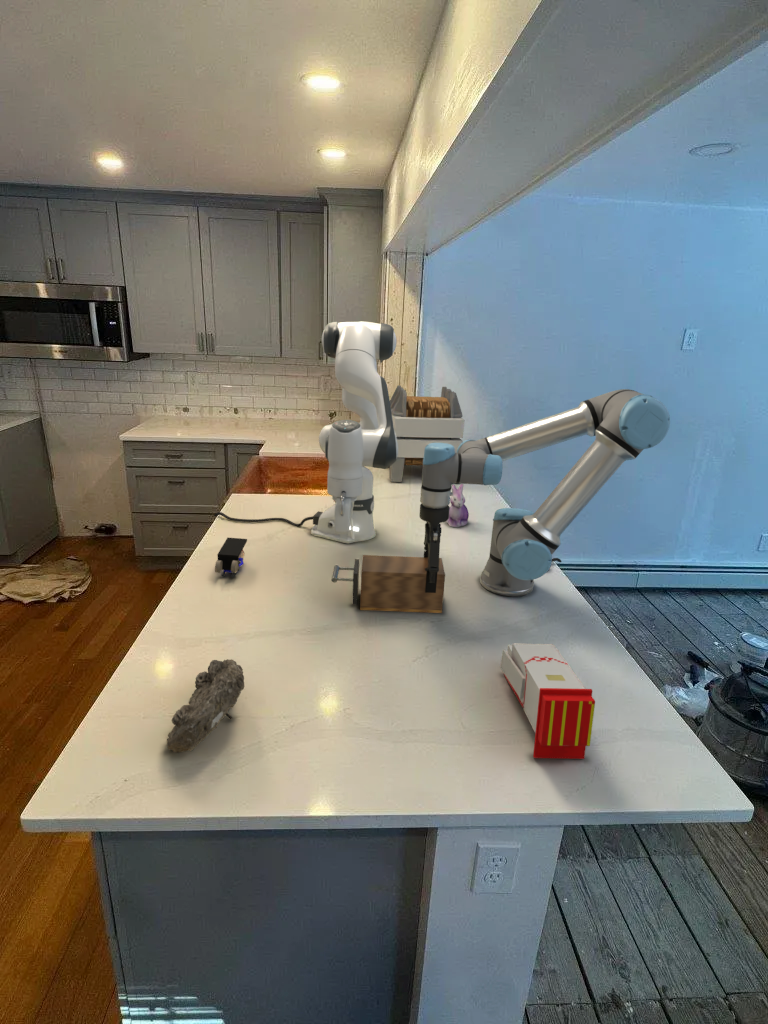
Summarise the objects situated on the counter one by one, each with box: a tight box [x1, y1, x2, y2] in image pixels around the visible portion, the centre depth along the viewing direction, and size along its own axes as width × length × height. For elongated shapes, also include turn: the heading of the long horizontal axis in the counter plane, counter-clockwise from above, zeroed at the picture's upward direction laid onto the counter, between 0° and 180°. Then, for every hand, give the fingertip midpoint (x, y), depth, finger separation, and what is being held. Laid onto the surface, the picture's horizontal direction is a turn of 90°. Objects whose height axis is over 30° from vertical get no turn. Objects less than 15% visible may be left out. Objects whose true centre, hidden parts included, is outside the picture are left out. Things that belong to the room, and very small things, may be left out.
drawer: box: [330, 558, 360, 606], centre depth 152 cm, size 26×9×9 cm, turn 90°
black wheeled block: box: [214, 537, 248, 578], centre depth 166 cm, size 7×8×15 cm
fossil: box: [166, 658, 245, 754], centre depth 106 cm, size 22×10×15 cm
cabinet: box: [359, 554, 446, 614], centre depth 152 cm, size 22×10×11 cm, turn 90°
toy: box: [499, 642, 596, 760], centre depth 113 cm, size 12×13×30 cm
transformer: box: [388, 384, 465, 483], centre depth 268 cm, size 34×33×41 cm
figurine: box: [446, 483, 470, 528], centre depth 210 cm, size 9×10×15 cm
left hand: (343, 537), depth 147 cm, fingers closed
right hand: (428, 582), depth 152 cm, fingers closed on cabinet, 10 cm apart
